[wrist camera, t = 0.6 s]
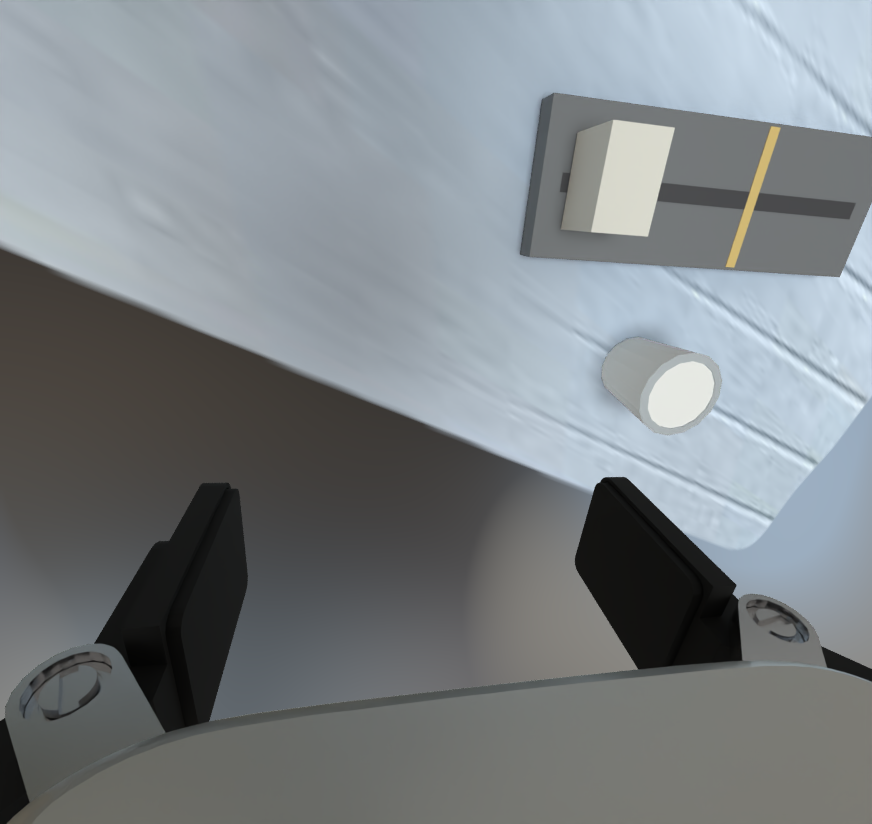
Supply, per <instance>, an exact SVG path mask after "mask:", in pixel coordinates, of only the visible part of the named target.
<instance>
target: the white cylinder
mask: <svg viewBox="0 0 872 824" xmlns="http://www.w3.org/2000/svg"><path fill="white" fill-rule="evenodd" d="M601 378H602V381H603V383H604V386H605V388H606V389H607V390H608V391H610V392H611V393H612V394H613V395H614V396H615V397H616V398H617V399H618V400H619V401H620V402H621V403H622V404H623V405H624V406H625V407H626V408H627V409H629V410H630V411H631V412H632V413H633V414H634V415H635V416H636V417H637V418H638V419H639V420H640V421H641V422H642V423H643V424H644V425H646V426H647V427H648V428H649V429H650V430H652V431H653V432H654V433H658V434H663V435H672V434H678V433H683V432H685V431H687V430H688V429H690V428H692V427H694V426H696V425H697V424H699V423H700V422H701V421H702V420H703V419H704V418H705V417H706V416H707V415H708V414H709V413H710V412H711V410H712V408H713V406H714V405H715V403H716V401H717V399H718V397H719V395H720V389H721V384H722V378H721V374H720V370H719V366H718V365H717V364H716V363H715V362H714V361H713V360H712V359H711V358H710V357H709V356H706V355H702V354H699V353H695V352H691V351H688V350H684V349H681V348H677V347H673V346H670V345H666V344H663V343H659V342H655V341H652V340H648V339H644V338H641V337H635V338H629V339H626V340H624V341H622V342H621V343H619V344H617V345H616V346H615V347H614V348H613V349H612V350H611V351H610V352H609V353H608V354H607V356H606V359H605V361H604V363H603V365H602V376H601Z"/></svg>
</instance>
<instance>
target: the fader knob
mask: <svg viewBox="0 0 872 824" xmlns="http://www.w3.org/2000/svg"><path fill="white" fill-rule="evenodd" d="M674 130H675V128H674V127H666V126H658V125H651V124H643V123H636V122H628V121H620V120H611V121H608V122H605V123H603V124H600V125H597V126H594V127H591V128H588V129H586V130H583V131H580V132H578V133H577V139H576V145H575V150H574V156H573V162H572V168H571V174H570V179H569V185H568V191H567V197H566V202H565V208H564V214H563V220H562V225H561V230H572V231H583V232H595V233H608V234H621V235H634V236H646V237H648V234H649V230H650V226H651V222H652V218H653V214H654V210H655V206H656V202H657V198H658V194H659V190H660V186H661V182H662V178H663V174H664V170H665V166H666V162H667V158H668V154H669V150H670V146H671V142H672V138H673V134H674Z"/></svg>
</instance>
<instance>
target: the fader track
mask: <svg viewBox="0 0 872 824" xmlns="http://www.w3.org/2000/svg"><path fill="white" fill-rule="evenodd" d="M611 120H620V121H628V122H636V123H643V124H651V125H658V126H666V127H674V128H675V130H674V134H673V138H672V142H671V146H670V150H669V154H668V158H667V162H666V166H665V170H664V174H663V178H662V182H661V186H660V190H659V194H658V198H657V202H656V206H655V210H654V214H653V218H652V222H651V226H650V230H649V234H648V237H646V236H634V235H621V234H608V233H595V232H583V231H572V230H561V225H562V220H563V214H564V208H565V202H566V197H567V191H568V185H569V179H570V174H571V168H572V162H573V156H574V150H575V145H576V139H577V133H578V132H580V131H583V130H586V129H588V128H591V127H594V126H597V125H600V124H603V123H605V122H608V121H611ZM871 203H872V137H868V136H861V135H853V134H846V133H839V132H832V131H825V130H818V129H810V128H803V127H796V126H789V125H782V124H775V123H768V122H760V121H753V120H746V119H739V118H732V117H725V116H717V115H710V114H703V113H696V112H689V111H682V110H674V109H667V108H660V107H653V106H646V105H639V104H631V103H624V102H617V101H610V100H603V99H596V98H588V97H581V96H574V95H567V94H560V93H553V94H551V95H549V96H548V97H546V98H544V99H543V100H542V104H541V112H540V119H539V126H538V133H537V140H536V147H535V154H534V161H533V168H532V175H531V182H530V189H529V196H528V203H527V210H526V217H525V224H524V231H523V238H522V245H521V253H520V255H524V256H528V257H540V258H555V259H570V260H586V261H601V262H616V263H631V264H647V265H662V266H677V267H693V268H708V269H723V270H739V271H754V272H769V273H785V274H800V275H815V276H830V277H840V275H841V273H842V270H843V268H844V266H845V264H846V261H847V259H848V257H849V254H850V252H851V250H852V247H853V245H854V243H855V240H856V238H857V236H858V233H859V231H860V229H861V226H862V224H863V222H864V219H865V217H866V215H867V212H868V210H869V208H870V205H871Z"/></svg>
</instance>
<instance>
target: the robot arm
mask: <svg viewBox="0 0 872 824" xmlns="http://www.w3.org/2000/svg"><path fill="white" fill-rule="evenodd" d="M575 565H576V569H577V571H578V573H579V575H580V576H581V578H582V579H583V581H584V583H585V584H586V586H587V587H588V589H589V591H590V592H591V594H592V595H593V597H594V599H595V600H596V602H597V604H598V605H599V607H600V608H601V610H602V612H603V613H604V615H605V616H606V618H607V620H608V621H609V623H610V624H611V626H612V628H613V629H614V631H615V632H616V634H617V636H618V637H619V639H620V640H621V642H622V643H623V645H624V647H625V649H626V650H627V652H628V653H629V655H630V657H631V658H632V660H633V661H634V663H635V665H636V666H637V668H638V669H639V670H630V671H620V672H610V673H601V674H591V675H581V676H572V677H563V678H553V679H544V680H535V681H526V682H517V683H507V684H497V685H488V686H480V687H471V688H461V689H452V690H443V691H434V692H426V693H418V694H409V695H399V696H391V697H382V698H373V699H365V700H356V701H347V702H339V703H331V704H323V705H316V706H308V707H300V708H293V709H285V710H278V711H270V712H262V713H255V714H248V715H243V716H237V717H232V718H226V719H221V720H215V721H209V720H210V717H211V713H212V709H213V706H214V702H215V699H216V695H217V692H218V688H219V684H220V681H221V677H222V674H223V670H224V667H225V663H226V660H227V656H228V653H229V649H230V646H231V642H232V639H233V635H234V632H235V628H236V625H237V621H238V618H239V614H240V611H241V607H242V603H243V600H244V596H245V593H246V589H247V581H248V580H247V579H248V575H247V563H246V554H245V544H244V535H243V525H242V516H241V506H240V496H239V491H238V489H231V487H230V484H229V483H203V484H201V486H200V487H199V489H198V491H197V492H196V494H195V496H194V498H193V500H192V501H191V503H190V505H189V507H188V509H187V510H186V512H185V514H184V516H183V517H182V519H181V521H180V523H179V525H178V526H177V528H176V530H175V532H174V534H173V535H172V537H171V539H170V541H159V542H157V543H155V544H154V546H153V547H152V548H151V550H150V551H149V553H148V555H147V556H146V558H145V560H144V561H143V563H142V565H141V566H140V568H139V570H138V571H137V573H136V575H135V576H134V578H133V580H132V582H131V583H130V585H129V586H128V588H127V590H126V591H125V593H124V595H123V596H122V598H121V600H120V601H119V603H118V605H117V606H116V608H115V610H114V612H113V613H112V615H111V616H110V618H109V620H108V621H107V623H106V625H105V627H104V628H103V630H102V632H101V633H100V635H99V637H98V638H97V640H96V642H95V643H94V644H86V645H82V646H78V647H74V648H70V649H69V650H66V651H63V652H61V653H59V654H56V655H54V656H53V657H51V658H49V659H48V660H46V661H45V662H43V663H41V664H40V665H38V666H37V667H36V668H35V669H33V670H32V671H31V672H30V673H29V674H28V675H26V676H25V677H24V678H23V679H22V680H21V682H20V683H19V684H18V685H17V686H16V688H15V689H14V690H13V692H12V693H11V695H10V697H9V700H8V702H7V704H6V706H5V718H4V719H3V720H1V721H0V824H872V669H870V668H868V667H866V666H864V665H861V664H859V663H857V662H855V661H853V660H850V659H848V658H846V657H844V656H841V655H839V654H837V653H835V652H833V651H830V650H828V649H826V648H824V647H822V646H821V645H820V641H819V637H818V635H817V633H816V631H815V629H814V628H813V627H812V625H811V624H810V623H809V622H808V621H807V620H806V619H805V618H804V617H803V616H802V615H800V614H799V613H798V612H797V611H795V610H794V609H792V608H791V607H789V606H787V605H786V604H784V603H782V602H780V601H777V600H775V599H773V598H770V597H767V596H764V595H758V594H747V595H743V596H742V597H741V598H739V600H738V599H737V598H736V597H735V596H734V595H733V592H734V589H735V587H736V584H735V583H734V582H733V581H732V580H731V579H730V578H729V577H728V576H727V575H726V574H725V573H724V572H722V571H721V569H720V568H718V567H717V566H716V565H715V564H714V563H713V562H712V561H711V560H710V559H709V558H708V557H707V556H706V555H705V554H704V553H703V552H702V551H701V550H700V549H699V548H698V547H697V546H696V545H695V544H694V543H693V542H692V541H691V540H690V539H689V538H688V537H687V536H686V535H685V534H684V533H683V532H682V531H681V530H680V529H679V528H678V527H677V526H676V525H674V524H673V523H672V522H671V521H670V520H669V519H668V518H667V517H666V516H665V515H664V514H663V513H662V512H661V511H660V510H659V509H658V508H657V507H656V506H655V505H654V504H653V503H652V502H651V501H650V500H649V499H648V498H647V497H646V496H645V495H644V494H643V493H642V492H641V491H640V490H639V489H638V488H637V487H636V486H635V485H634V484H632V483H631V482H630V481H629V480H628V479H627V478H625V477H605V478H603V479H602V480H601V482H600V483H597V484H596V486H595V489H594V492H593V496H592V500H591V503H590V507H589V510H588V514H587V517H586V521H585V524H584V528H583V531H582V535H581V538H580V542H579V546H578V549H577V553H576V556H575Z"/></svg>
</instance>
